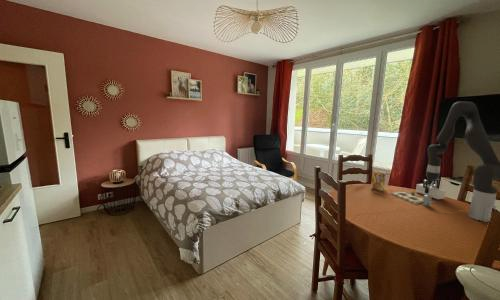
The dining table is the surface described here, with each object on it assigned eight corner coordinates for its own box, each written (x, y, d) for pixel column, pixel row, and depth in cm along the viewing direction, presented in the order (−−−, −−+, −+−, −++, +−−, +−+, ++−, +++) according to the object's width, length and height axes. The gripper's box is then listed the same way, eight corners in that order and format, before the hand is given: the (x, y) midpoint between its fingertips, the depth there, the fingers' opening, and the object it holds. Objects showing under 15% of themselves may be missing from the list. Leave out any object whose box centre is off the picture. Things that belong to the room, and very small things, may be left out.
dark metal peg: (431, 208, 143) (433, 196, 142) (426, 208, 142) (428, 197, 141) (425, 205, 147) (426, 194, 146) (420, 206, 146) (422, 194, 145)
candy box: (384, 190, 175) (386, 172, 172) (382, 191, 172) (384, 173, 169) (372, 187, 181) (374, 170, 179) (370, 189, 178) (372, 171, 176)
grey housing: (444, 198, 155) (445, 190, 154) (437, 199, 154) (439, 191, 153) (421, 190, 171) (422, 183, 170) (415, 191, 169) (416, 184, 168)
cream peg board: (425, 203, 150) (426, 200, 149) (414, 205, 147) (415, 201, 147) (401, 194, 167) (401, 191, 166) (391, 195, 164) (391, 192, 164)
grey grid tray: (436, 203, 151) (436, 197, 150) (428, 204, 149) (429, 198, 148) (408, 193, 170) (409, 188, 169) (401, 193, 168) (402, 189, 167)
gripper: (431, 173, 154) (427, 195, 156) (445, 172, 157) (442, 193, 160) (420, 170, 161) (417, 191, 164) (434, 169, 164) (431, 190, 167)
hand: (429, 192), depth 162 cm, fingers closed on grey housing, 6 cm apart
